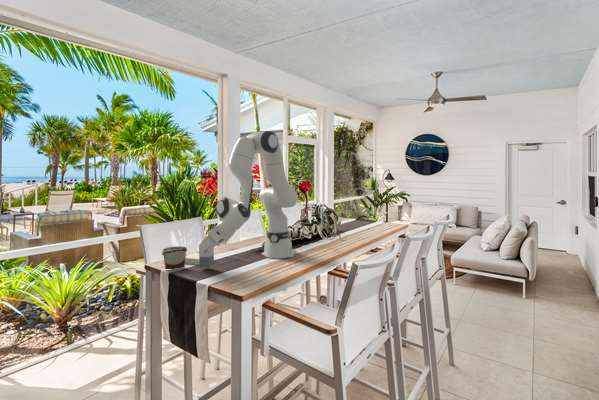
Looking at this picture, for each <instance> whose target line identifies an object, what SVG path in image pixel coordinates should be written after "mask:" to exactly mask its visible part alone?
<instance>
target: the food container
mask: <svg viewBox="0 0 599 400" xmlns="http://www.w3.org/2000/svg"><path fill="white" fill-rule="evenodd" d="M187 252H188V249H187V247H186V246H170V247H165V248H163V249H162V252H161V255H162V256H163V263H164V268H165V269H174V270H176V269H175V268H179V269H182V268H181V267H184V268H185V267H186V264H185V258H186V256H187V255H186V254H187ZM165 269H164V270H165Z"/></svg>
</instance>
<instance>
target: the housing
mask: <svg viewBox="0 0 599 400" xmlns="http://www.w3.org/2000/svg"><path fill="white" fill-rule="evenodd" d="M199 245H200V243H198V246H199ZM214 248H215V247H213V248H211V249H209V250H207V251H206V252H205V253H204V254H201V253H200V251H201V249H200V248H199V247H198V253H199V264H200V265H199V267H201V268H210V267H212V266H214V265H215V257H214V256H215V252H214V251H215V250H214Z"/></svg>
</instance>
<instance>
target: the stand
mask: <svg viewBox="0 0 599 400" xmlns="http://www.w3.org/2000/svg"><path fill="white" fill-rule="evenodd" d="M185 263H187V264H186V265H195V266H196V265H198V266H200V264H199V252H193V253H191V254H188V255H186V258H185Z"/></svg>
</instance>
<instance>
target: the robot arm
mask: <svg viewBox="0 0 599 400" xmlns="http://www.w3.org/2000/svg"><path fill="white" fill-rule="evenodd" d="M255 154H261V155H262V163H263V170H264V171H263V172H264V177H265V178H264V179H265V180H266V181H267V182H268V183H269V184H270V185H271V186H268V187H264V188H262V189H261V190H260V192H259V195H258V197H259V198H258V199H259V201H260V203H261V204H262V205H263V207H264V209H265V212H266V217H267V231H266V239H265V240H264V248H263V251H262V252H261V255H262V256H264V257H265V258H268V259H269V258H270V259H285V258H294V256H295V254H296V252H295V251H296V249H293V243H292V241H291V240H290V238H289V234H290V230H288V216H287V215H286V214H285V213H284V211H283V209H287V208H292V207H294V206H295V205H296V204H297V202H298V194H297V192H296V190H294V189H293V187H292V186H291V185H290V183H289V181H288V179H287V176H286V171H285V164H284V158H283V153H282V149H281V147H280V145H279V138H278V136H277V134H276V133H275V132H273V131H270V130H266V131H256V132H249V133H246V134H244V135H242V137H239V138H238V139H237V140H236V143H235V144H234V146H233V149H232V151H231V154H230V158H229V161H228V167H229V170H230V173H232V175H233V176H234V177H235V178H236V179H237V181H238V182H239V184H240V194H239V195H240V196H239V201H237V200H235V199H232V198H230V197H226V196H224V197H222V198H219V200H218V201H216V202H217V203H216V204H215V212H216V214H217V216H218V217H219V218H220V219H221V220H220V221H219V222H218V224H216V225H215V226H214V227H213V228H212V229H210V230H209V231H208V232H207V234H206V236H205V237H204V238H203V239H202V241H201V242H200V243H199V244H200V245H199V244H198V249H199V248H200V249H201V251H200V253H201V254H204V253H205V252H206V251H207V250H209V249H211V248H213V247H214V248H215V247H217V246H219V245H221V244H223V243H225V242H228V241H230V239H231V238H232V237H233V236H234V235H235V233H236V232H237V231H238V230H239V229H241V227H242V226H243V225H244V224H245V223H246V222H247V221H249V219H250V217H251V203H252V195H253V189H254V188H253V186H254V175H253V172H252V167H253V162H254V158H255V157H254V156H255Z"/></svg>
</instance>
